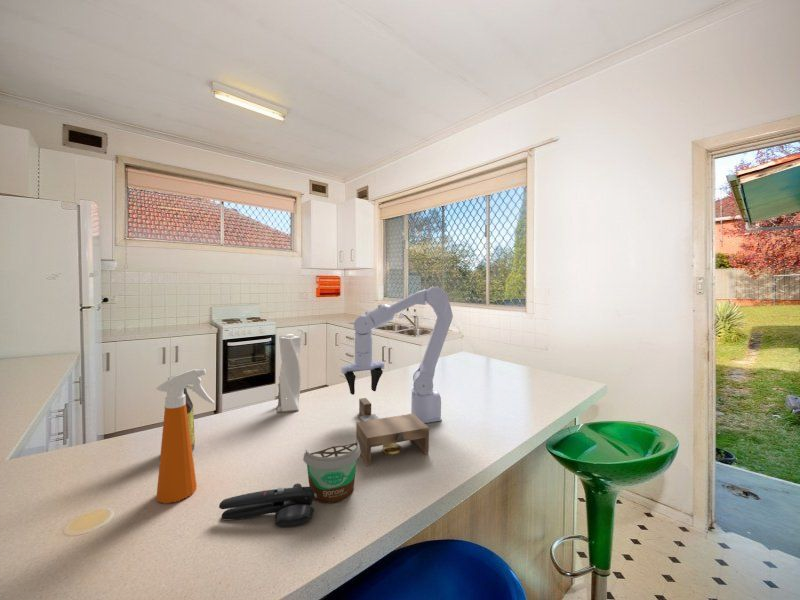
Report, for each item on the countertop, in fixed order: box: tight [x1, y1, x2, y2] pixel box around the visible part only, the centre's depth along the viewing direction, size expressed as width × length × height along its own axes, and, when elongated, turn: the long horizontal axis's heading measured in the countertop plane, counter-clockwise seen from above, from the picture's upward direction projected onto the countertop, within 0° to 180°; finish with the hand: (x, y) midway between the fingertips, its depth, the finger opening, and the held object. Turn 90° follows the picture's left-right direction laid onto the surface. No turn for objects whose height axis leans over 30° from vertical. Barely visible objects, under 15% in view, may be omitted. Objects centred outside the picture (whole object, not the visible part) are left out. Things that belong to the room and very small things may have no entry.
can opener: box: [218, 482, 315, 528], centre depth 64 cm, size 18×7×6 cm, turn 93°
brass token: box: [382, 443, 402, 456], centre depth 90 cm, size 5×5×1 cm
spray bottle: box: [156, 368, 215, 504], centre depth 70 cm, size 7×11×26 cm, turn 107°
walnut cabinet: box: [355, 413, 430, 467], centre depth 89 cm, size 17×11×7 cm, turn 113°
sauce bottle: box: [167, 375, 196, 451], centre depth 87 cm, size 7×6×20 cm
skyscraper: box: [276, 329, 303, 414], centre depth 117 cm, size 8×8×28 cm
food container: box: [302, 439, 361, 505], centre depth 70 cm, size 12×6×10 cm, turn 117°
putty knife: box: [358, 397, 380, 422], centre depth 105 cm, size 5×22×5 cm, turn 23°
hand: (363, 392), depth 111 cm, fingers open, 7 cm apart
